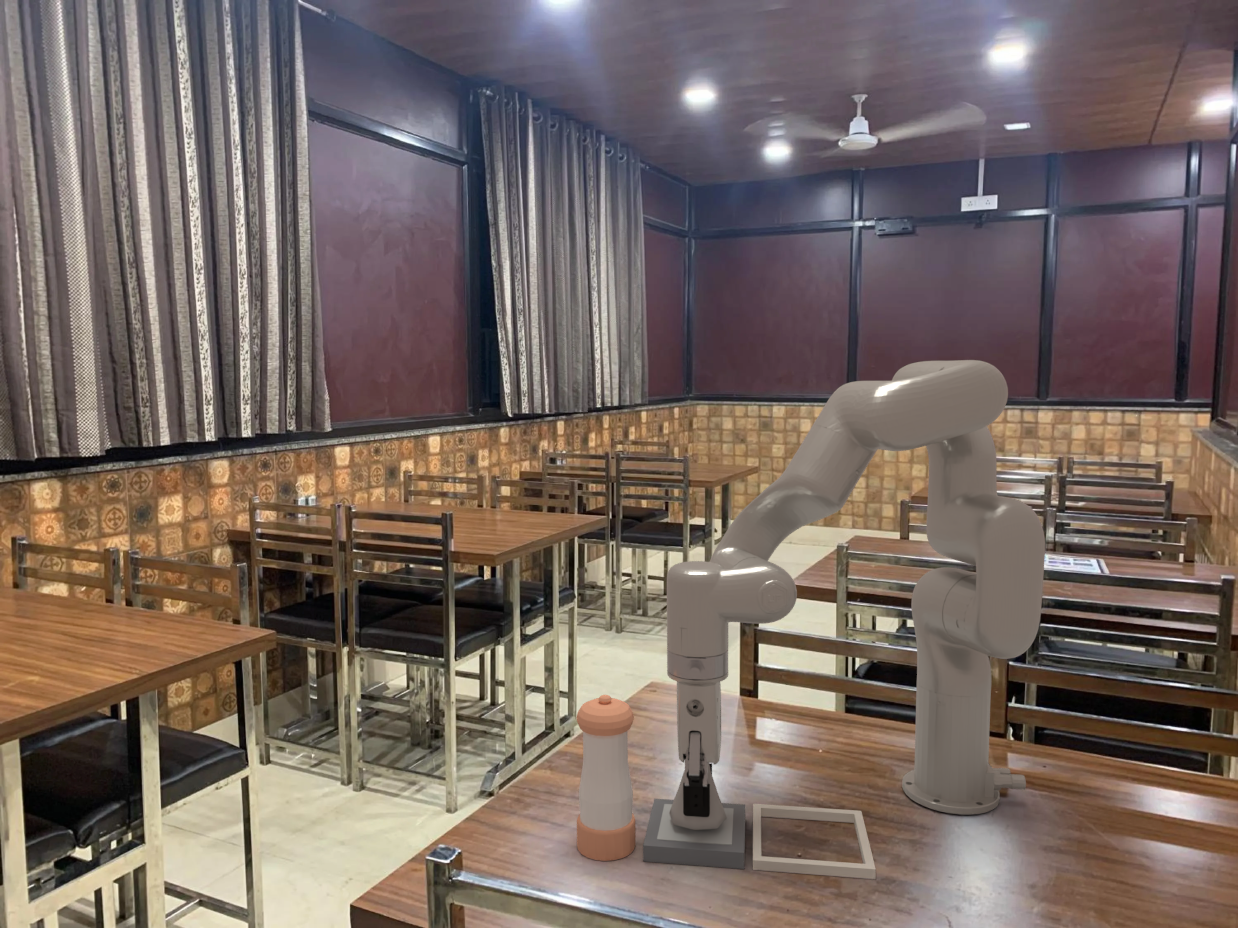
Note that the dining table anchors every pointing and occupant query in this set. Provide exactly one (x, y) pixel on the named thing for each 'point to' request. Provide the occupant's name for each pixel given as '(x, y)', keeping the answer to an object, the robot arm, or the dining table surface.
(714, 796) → the flask
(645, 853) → the slate pad
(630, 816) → the salt shaker
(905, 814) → the dining table surface
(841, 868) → the tray frame
